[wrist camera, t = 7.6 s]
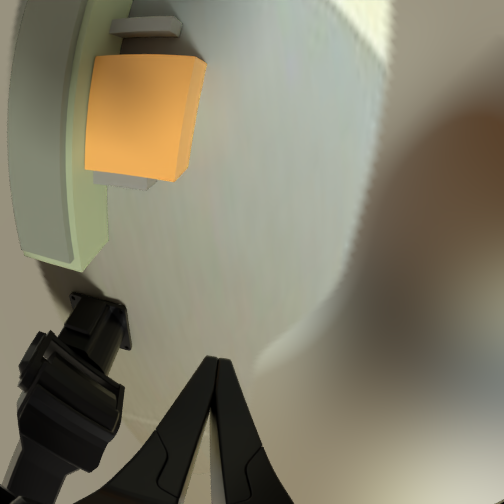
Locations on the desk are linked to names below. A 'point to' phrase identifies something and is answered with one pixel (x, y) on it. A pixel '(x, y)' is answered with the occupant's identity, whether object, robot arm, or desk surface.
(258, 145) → the desk surface
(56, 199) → the sage green lidded box
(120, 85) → the amber cuboid
